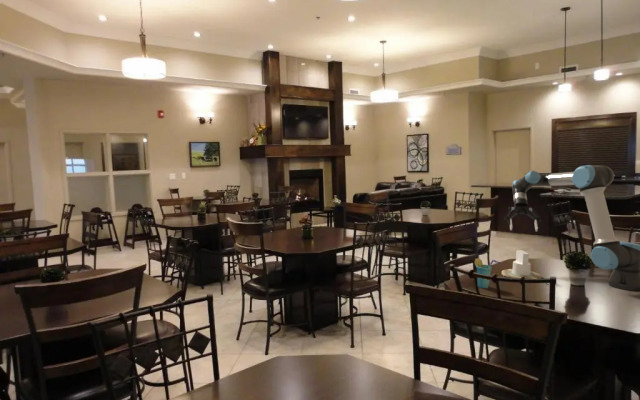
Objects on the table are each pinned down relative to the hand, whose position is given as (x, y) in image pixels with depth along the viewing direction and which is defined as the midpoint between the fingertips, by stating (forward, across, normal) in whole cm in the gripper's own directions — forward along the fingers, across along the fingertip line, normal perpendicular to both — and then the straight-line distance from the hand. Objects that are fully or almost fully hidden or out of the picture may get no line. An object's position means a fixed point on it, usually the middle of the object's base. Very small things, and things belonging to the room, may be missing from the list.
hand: (523, 229), depth 256 cm
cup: (+48, +25, +13) cm, 55 cm away
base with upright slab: (+27, +3, -5) cm, 27 cm away
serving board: (+28, +3, -6) cm, 29 cm away
